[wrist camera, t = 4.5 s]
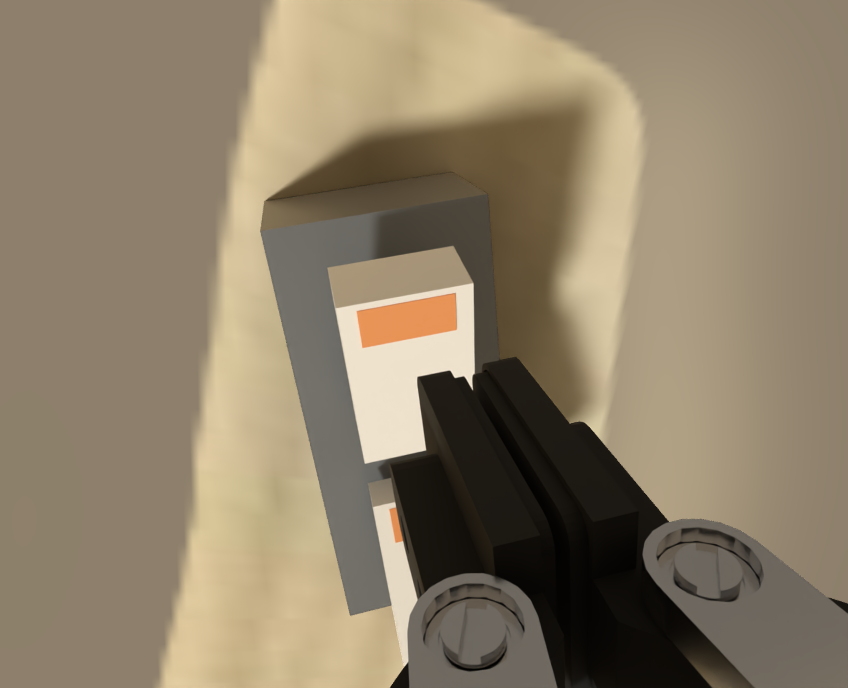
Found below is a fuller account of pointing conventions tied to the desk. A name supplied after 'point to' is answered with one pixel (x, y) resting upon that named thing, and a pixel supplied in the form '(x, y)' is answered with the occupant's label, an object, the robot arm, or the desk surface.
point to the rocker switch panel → (320, 338)
